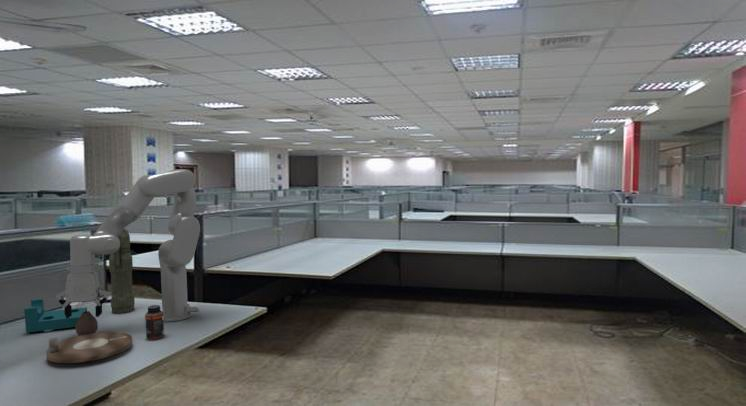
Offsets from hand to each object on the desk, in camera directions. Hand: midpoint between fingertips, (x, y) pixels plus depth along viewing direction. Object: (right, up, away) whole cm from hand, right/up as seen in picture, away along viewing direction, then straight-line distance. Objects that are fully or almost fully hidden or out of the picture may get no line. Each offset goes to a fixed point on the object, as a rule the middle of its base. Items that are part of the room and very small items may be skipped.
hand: (83, 316), depth 171 cm
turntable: (+12, -7, -16) cm, 21 cm away
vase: (+1, -7, +1) cm, 7 cm away
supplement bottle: (+27, -7, -2) cm, 28 cm away
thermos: (-2, -6, +32) cm, 32 cm away
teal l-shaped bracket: (-17, -7, +12) cm, 22 cm away
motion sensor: (-24, -6, +33) cm, 41 cm away
